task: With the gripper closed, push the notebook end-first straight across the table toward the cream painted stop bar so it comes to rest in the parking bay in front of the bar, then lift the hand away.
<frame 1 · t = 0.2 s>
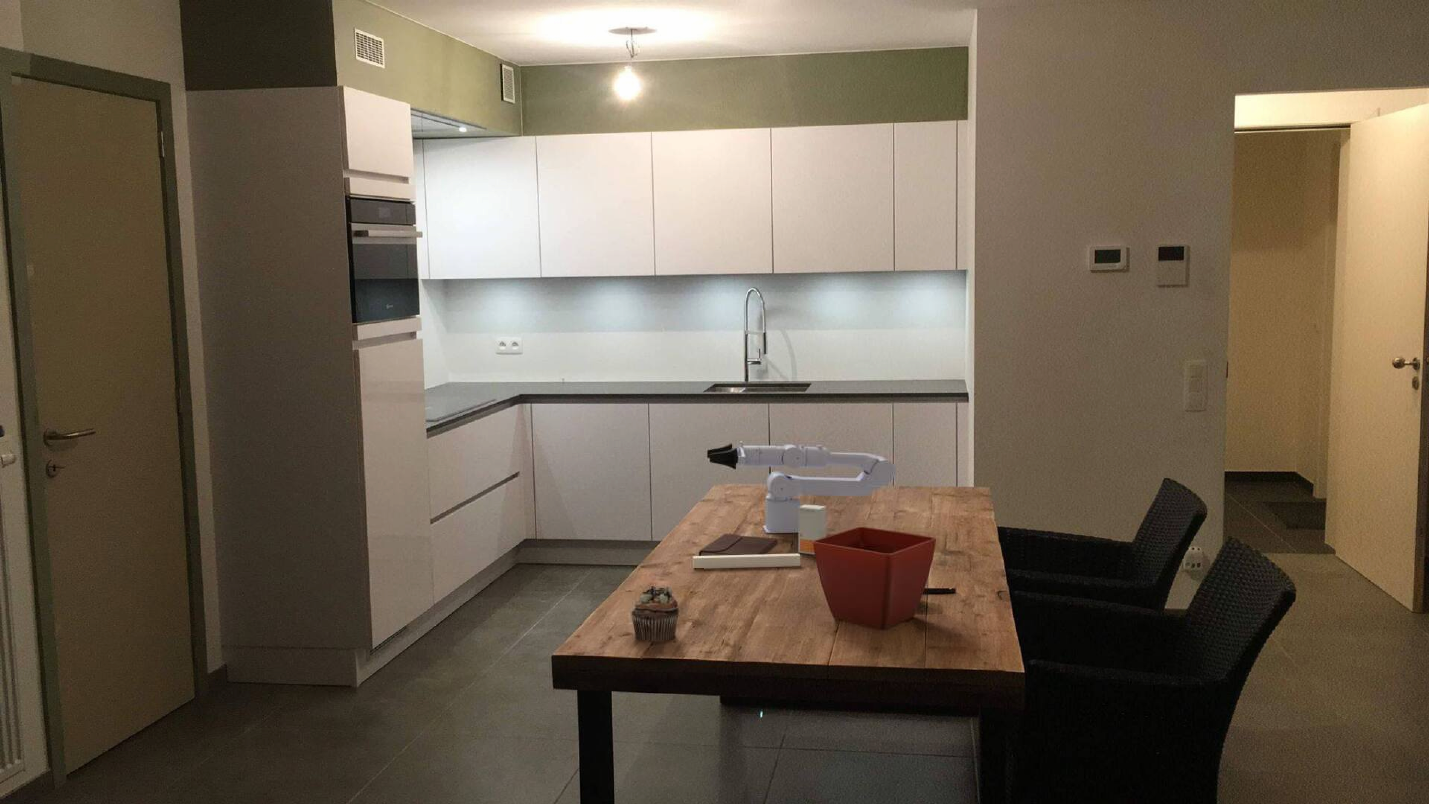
hand: (708, 456, 338), 21 cm above the table, tool horizontal, fingers open, 7 cm apart
plant pot: (873, 618, 261), on the table
cupcake: (655, 637, 249), on the table
notebook: (739, 551, 321), on the table
stop bar: (746, 566, 304), on the table
skincare box: (812, 553, 317), on the table
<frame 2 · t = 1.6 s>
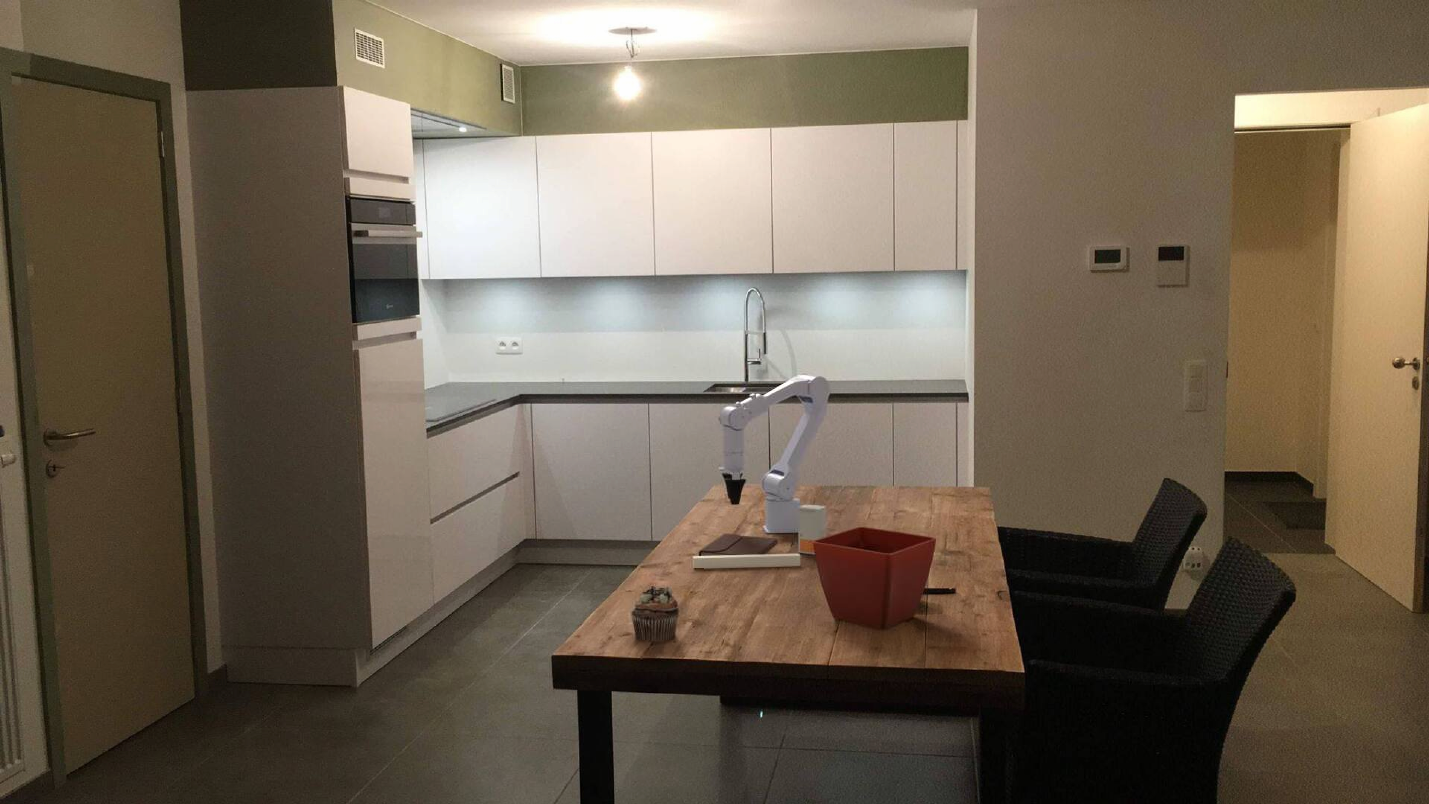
hand: (733, 501, 335), 9 cm above the table, tool pointing down, fingers open, 7 cm apart
nothing on the table moved.
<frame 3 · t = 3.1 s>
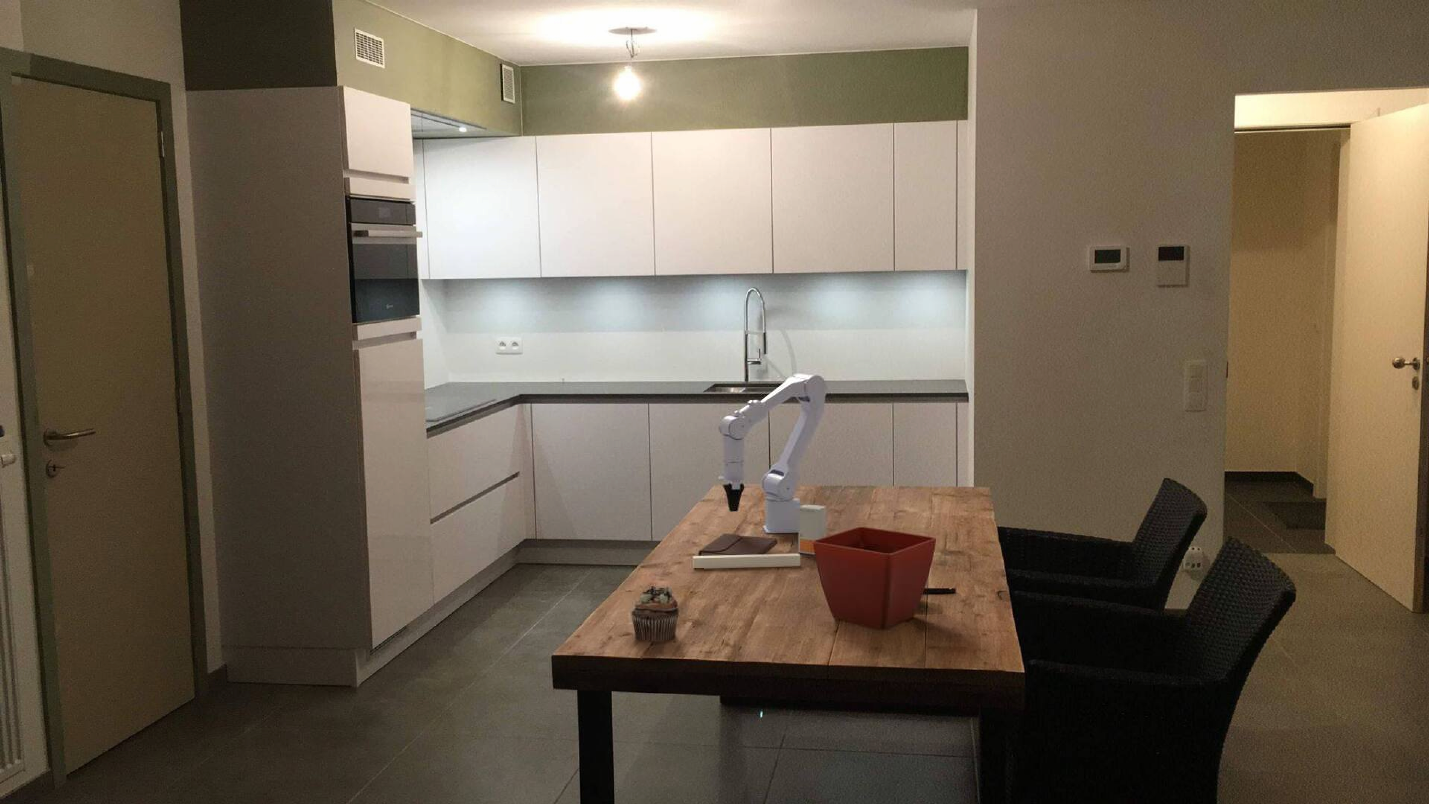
hand: (733, 511, 335), 7 cm above the table, tool pointing down, fingers closed
nothing on the table moved.
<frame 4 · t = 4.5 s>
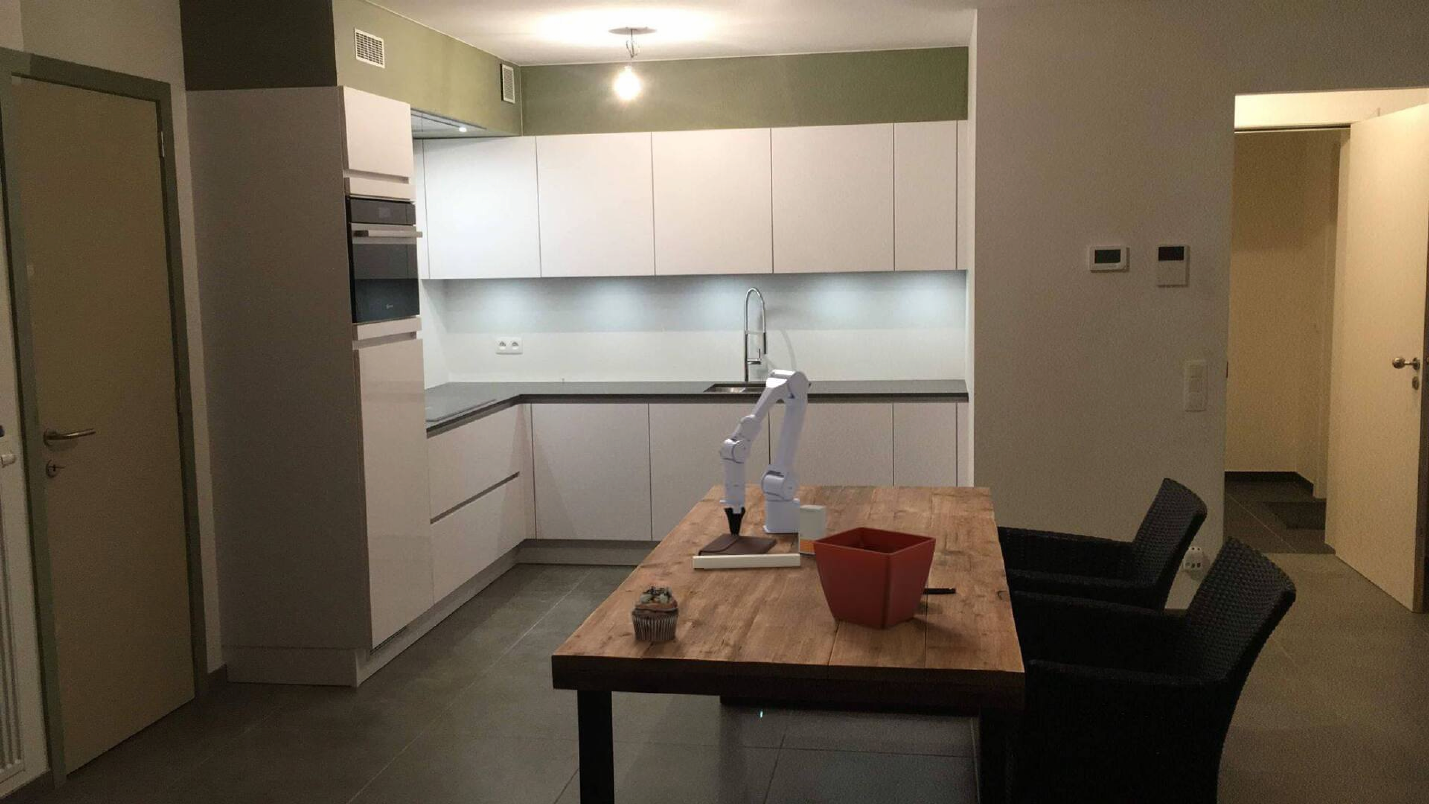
hand: (734, 534, 333), 1 cm above the table, tool pointing down, fingers closed
notebook: (738, 551, 321), on the table, touching gripper
everything else where it was.
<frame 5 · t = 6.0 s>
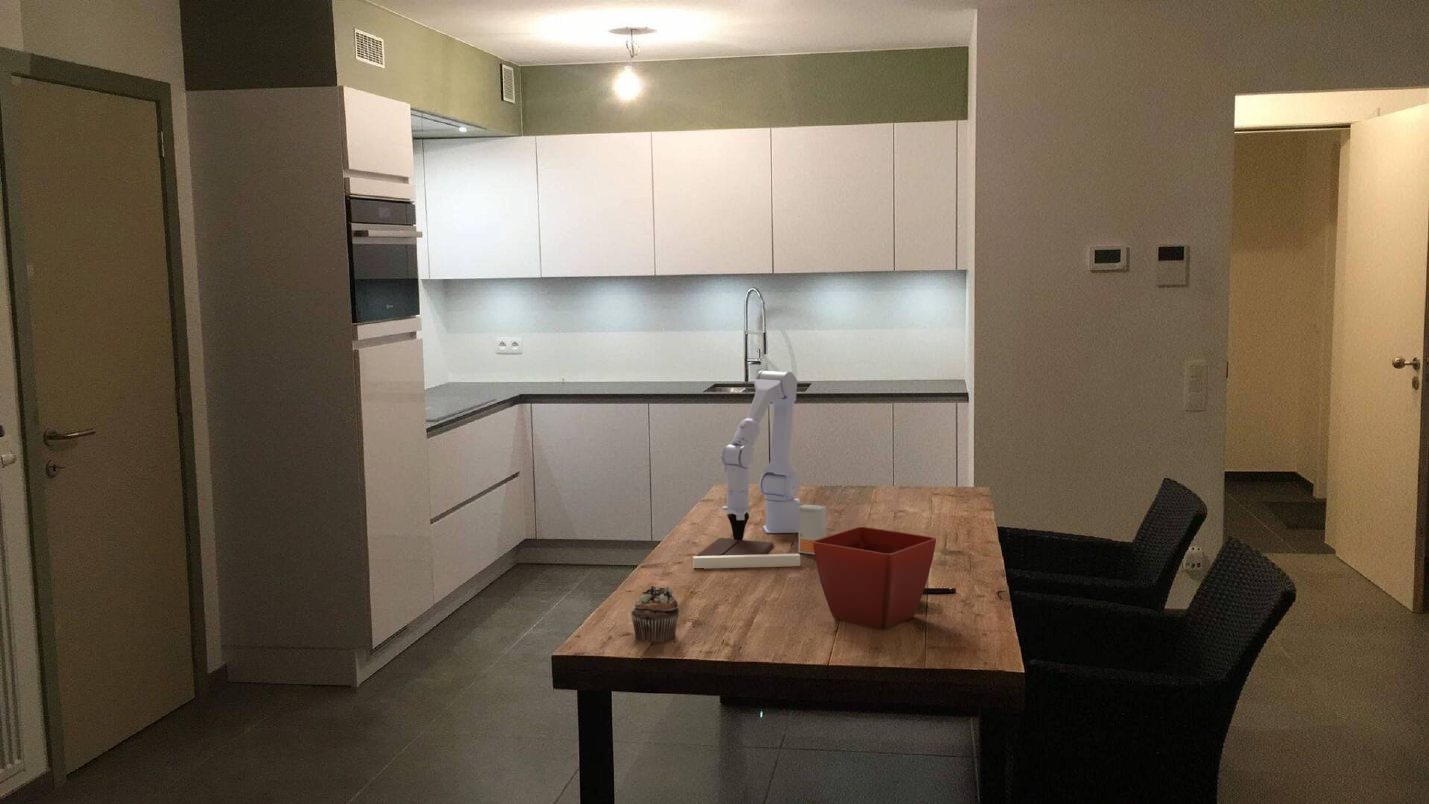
hand: (738, 540, 327), 1 cm above the table, tool pointing down, fingers closed, pressing on notebook
notebook: (735, 556, 316), on the table, touching gripper, stop bar
everything else where it was.
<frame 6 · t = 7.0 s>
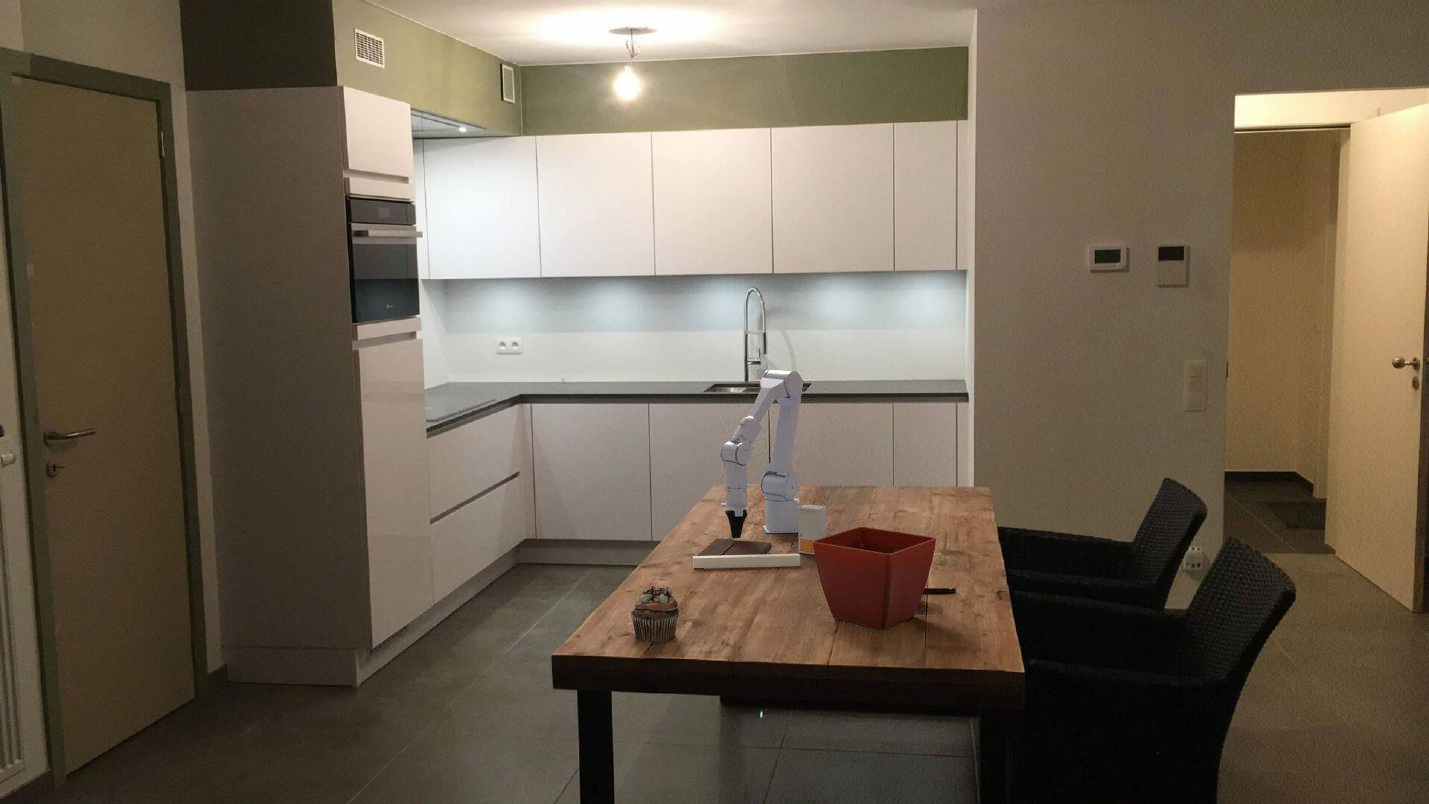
hand: (736, 537, 330), 1 cm above the table, tool pointing down, fingers closed
notebook: (734, 556, 316), on the table
everything else where it was.
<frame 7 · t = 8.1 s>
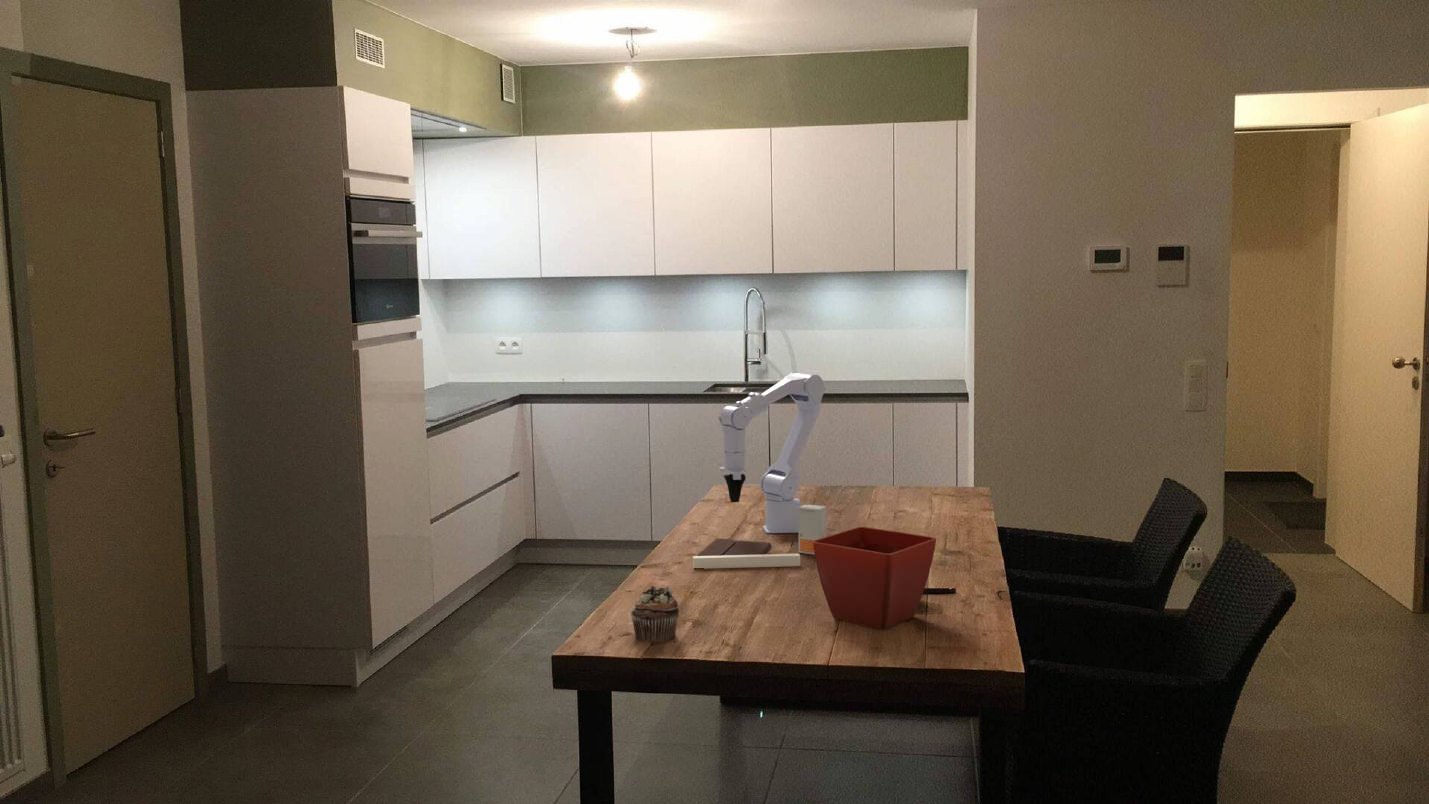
hand: (734, 501, 332), 10 cm above the table, tool pointing down, fingers closed
nothing on the table moved.
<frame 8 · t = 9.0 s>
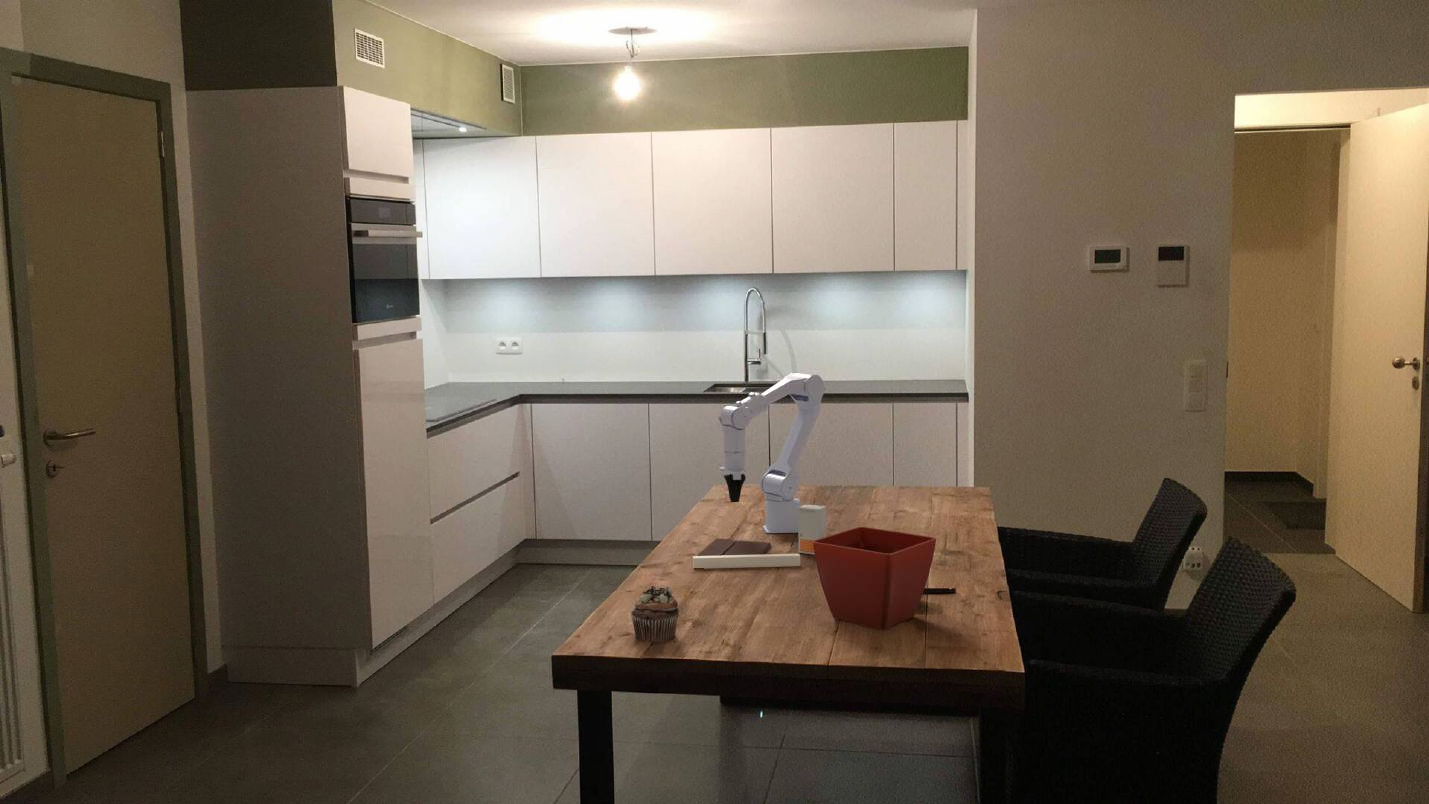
hand: (734, 501, 332), 10 cm above the table, tool pointing down, fingers closed
nothing on the table moved.
at the end: notebook inside the target area (2.0 cm from its centre), on the table; notebook moved 5.6 cm from its start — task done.
